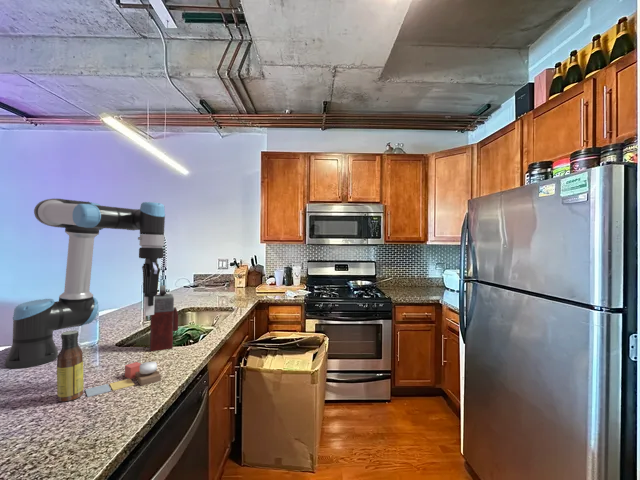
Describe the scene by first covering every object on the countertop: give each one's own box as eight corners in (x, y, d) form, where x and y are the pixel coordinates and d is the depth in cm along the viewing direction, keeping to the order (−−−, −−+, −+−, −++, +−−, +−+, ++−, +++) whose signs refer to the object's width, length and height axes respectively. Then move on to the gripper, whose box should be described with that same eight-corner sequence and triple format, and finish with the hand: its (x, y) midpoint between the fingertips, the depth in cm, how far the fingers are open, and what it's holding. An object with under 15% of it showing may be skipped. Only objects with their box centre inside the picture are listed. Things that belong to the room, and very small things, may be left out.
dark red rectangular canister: (178, 347, 140) (179, 285, 140) (149, 351, 134) (151, 287, 135) (176, 342, 148) (178, 283, 148) (149, 345, 142) (151, 284, 143)
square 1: (85, 390, 98) (85, 389, 98) (107, 384, 102) (107, 384, 102) (87, 397, 94) (87, 396, 94) (111, 391, 98) (111, 390, 98)
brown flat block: (135, 378, 108) (135, 372, 108) (154, 373, 112) (154, 367, 112) (141, 386, 102) (141, 379, 102) (160, 380, 106) (160, 375, 106)
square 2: (109, 384, 103) (109, 383, 103) (130, 379, 107) (130, 378, 107) (112, 390, 98) (112, 390, 98) (134, 385, 102) (134, 384, 102)
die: (124, 376, 109) (125, 365, 109) (136, 372, 112) (136, 361, 113) (130, 379, 107) (130, 367, 107) (142, 375, 110) (142, 364, 110)
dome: (137, 370, 107) (137, 364, 107) (154, 366, 111) (154, 360, 111) (141, 375, 103) (141, 368, 103) (158, 371, 107) (158, 364, 107)
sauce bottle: (80, 390, 98) (82, 327, 98) (86, 397, 94) (88, 331, 94) (53, 398, 93) (55, 332, 93) (58, 405, 89) (60, 336, 89)
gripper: (134, 246, 110) (132, 312, 110) (144, 247, 101) (141, 320, 100) (157, 246, 115) (155, 310, 115) (169, 247, 106) (166, 316, 105)
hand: (149, 314), depth 108 cm, fingers closed
